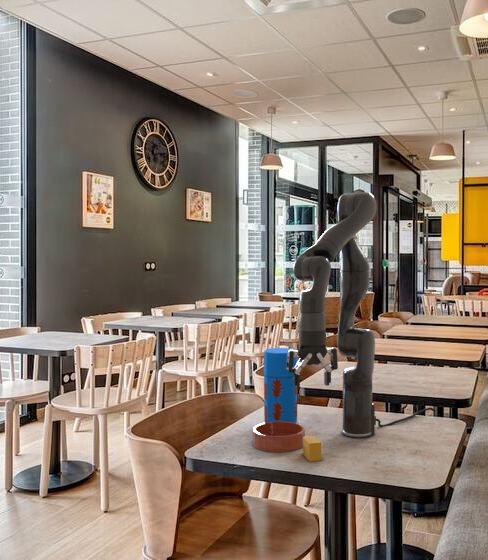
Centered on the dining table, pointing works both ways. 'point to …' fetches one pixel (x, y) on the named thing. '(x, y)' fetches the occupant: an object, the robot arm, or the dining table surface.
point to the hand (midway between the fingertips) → (312, 386)
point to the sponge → (312, 448)
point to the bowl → (278, 436)
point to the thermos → (279, 387)
